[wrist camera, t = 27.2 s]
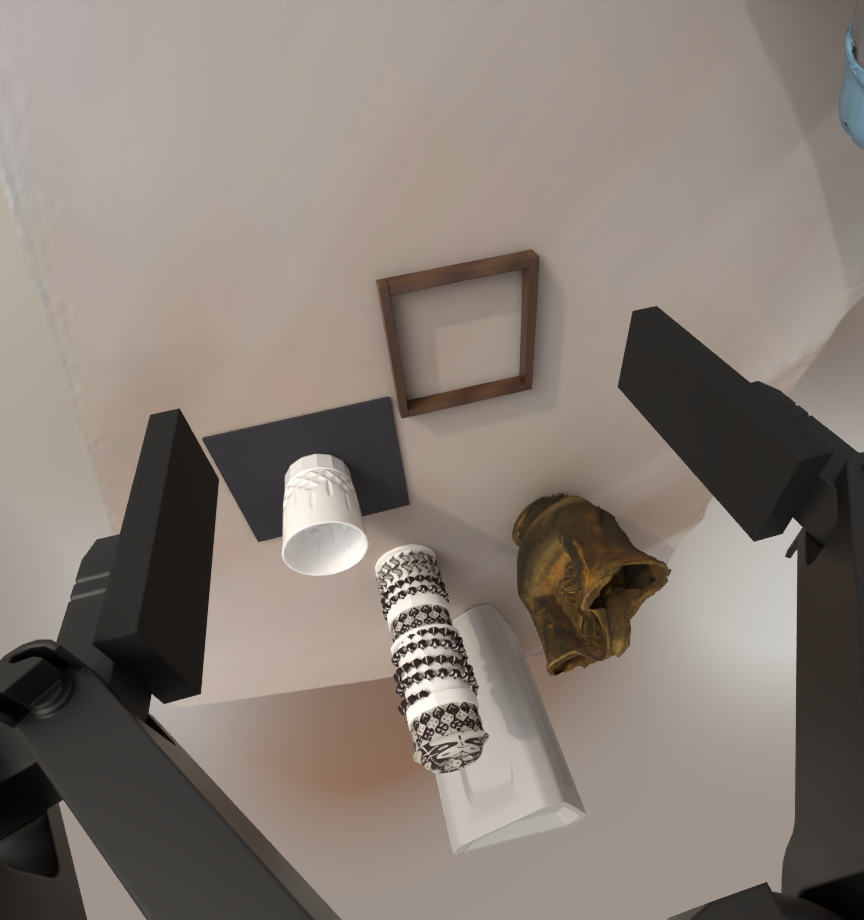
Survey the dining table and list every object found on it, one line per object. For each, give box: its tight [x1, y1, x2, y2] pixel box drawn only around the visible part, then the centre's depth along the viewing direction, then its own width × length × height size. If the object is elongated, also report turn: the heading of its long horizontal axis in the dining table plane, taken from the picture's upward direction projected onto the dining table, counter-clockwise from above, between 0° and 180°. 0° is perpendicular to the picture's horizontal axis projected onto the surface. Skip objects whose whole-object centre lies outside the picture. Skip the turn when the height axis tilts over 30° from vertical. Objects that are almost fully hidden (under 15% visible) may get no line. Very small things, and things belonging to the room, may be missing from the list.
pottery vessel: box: [512, 494, 671, 676], centre depth 63 cm, size 25×11×20 cm, turn 175°
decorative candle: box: [375, 544, 489, 773], centre depth 61 cm, size 9×9×25 cm
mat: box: [203, 397, 409, 542], centre depth 55 cm, size 18×16×1 cm
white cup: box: [282, 454, 369, 576], centre depth 51 cm, size 8×8×10 cm
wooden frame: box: [376, 250, 539, 418], centre depth 47 cm, size 14×14×2 cm
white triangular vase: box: [435, 604, 586, 855], centre depth 76 cm, size 19×15×28 cm
